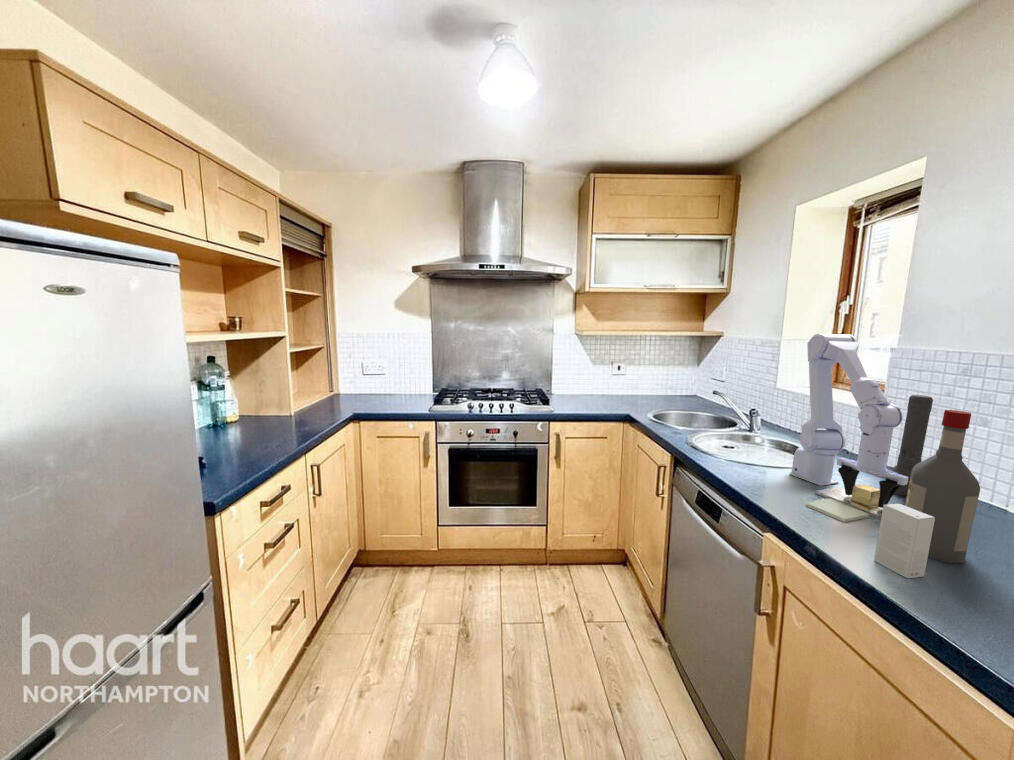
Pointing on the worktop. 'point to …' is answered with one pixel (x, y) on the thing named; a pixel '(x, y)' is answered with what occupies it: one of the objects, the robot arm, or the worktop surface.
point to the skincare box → (904, 540)
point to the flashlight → (913, 437)
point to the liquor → (947, 491)
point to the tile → (837, 510)
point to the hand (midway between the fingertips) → (865, 500)
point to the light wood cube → (865, 496)
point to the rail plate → (848, 500)
